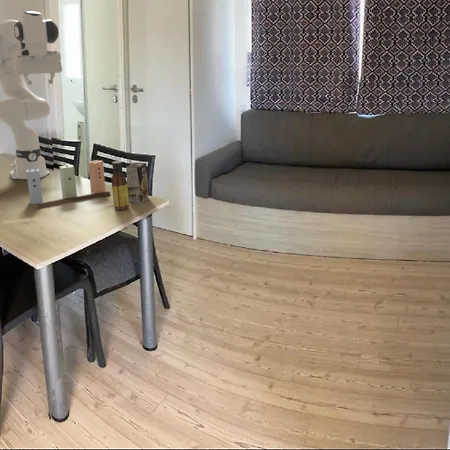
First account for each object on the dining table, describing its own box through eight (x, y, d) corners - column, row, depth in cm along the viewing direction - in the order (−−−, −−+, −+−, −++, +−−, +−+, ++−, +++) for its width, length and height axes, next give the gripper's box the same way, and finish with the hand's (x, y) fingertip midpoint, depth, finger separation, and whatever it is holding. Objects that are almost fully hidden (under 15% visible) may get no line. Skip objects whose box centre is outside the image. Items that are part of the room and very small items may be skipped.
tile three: (90, 192, 249) (88, 161, 245) (99, 189, 253) (97, 159, 248) (96, 193, 247) (94, 162, 242) (105, 191, 250) (103, 160, 246)
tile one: (62, 197, 241) (59, 165, 236) (73, 195, 244) (70, 164, 239) (66, 200, 238) (62, 167, 233) (77, 198, 240) (74, 166, 236)
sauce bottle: (131, 206, 233) (128, 160, 226) (127, 211, 227) (124, 163, 220) (115, 206, 233) (112, 160, 227) (111, 210, 227) (108, 163, 221)
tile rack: (24, 203, 237) (24, 197, 236) (101, 190, 256) (100, 184, 255) (35, 211, 226) (34, 204, 225) (113, 197, 245) (113, 191, 244)
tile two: (30, 201, 235) (26, 169, 231) (42, 200, 237) (38, 168, 232) (30, 204, 232) (26, 171, 227) (43, 203, 233) (39, 170, 229)
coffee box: (141, 204, 236) (139, 167, 230) (127, 203, 237) (125, 166, 232) (148, 198, 244) (147, 162, 239) (135, 197, 245) (132, 161, 240)
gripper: (57, 50, 247) (60, 82, 251) (10, 51, 236) (14, 84, 240) (62, 51, 242) (65, 83, 247) (15, 52, 231) (19, 86, 235)
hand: (40, 84), depth 243 cm, fingers open, 8 cm apart
